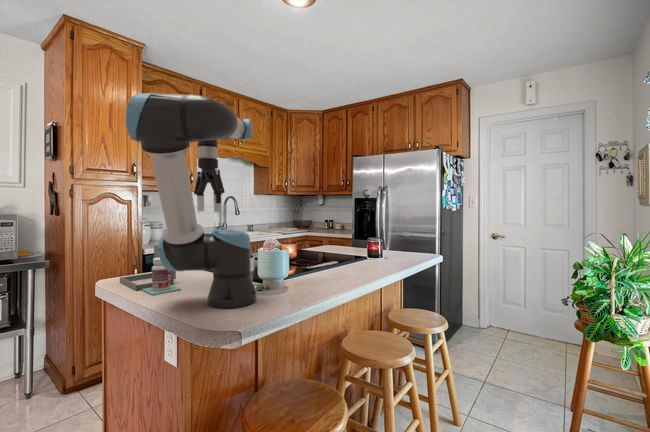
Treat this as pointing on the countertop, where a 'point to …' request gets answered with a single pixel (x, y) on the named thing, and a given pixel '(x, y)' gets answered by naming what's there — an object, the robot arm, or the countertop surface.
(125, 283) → the case
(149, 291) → the pad
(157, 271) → the pill bottle
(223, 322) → the countertop surface
